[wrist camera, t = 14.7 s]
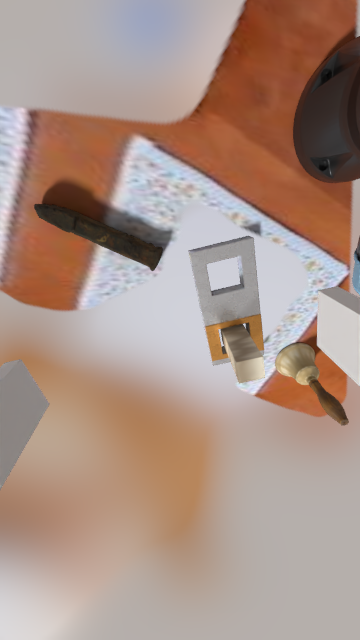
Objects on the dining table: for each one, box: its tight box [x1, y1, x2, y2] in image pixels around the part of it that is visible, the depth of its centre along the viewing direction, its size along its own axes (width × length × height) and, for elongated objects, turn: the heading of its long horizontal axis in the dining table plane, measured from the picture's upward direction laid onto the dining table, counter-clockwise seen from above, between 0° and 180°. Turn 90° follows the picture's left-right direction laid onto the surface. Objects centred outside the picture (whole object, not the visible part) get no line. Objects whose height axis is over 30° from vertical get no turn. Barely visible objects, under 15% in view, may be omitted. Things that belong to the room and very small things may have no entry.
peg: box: [221, 324, 265, 383], centre depth 42 cm, size 4×4×12 cm
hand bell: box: [275, 343, 349, 425], centre depth 44 cm, size 8×8×16 cm
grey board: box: [188, 236, 264, 365], centre depth 43 cm, size 10×22×3 cm, turn 13°
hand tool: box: [34, 204, 163, 271], centre depth 36 cm, size 19×4×5 cm, turn 63°
